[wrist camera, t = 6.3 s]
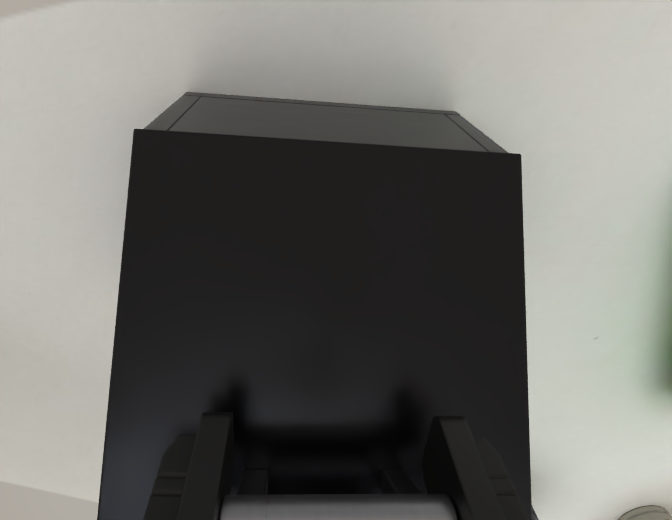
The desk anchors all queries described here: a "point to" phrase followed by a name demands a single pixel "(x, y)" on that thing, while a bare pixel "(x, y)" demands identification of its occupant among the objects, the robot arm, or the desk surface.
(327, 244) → the box lid
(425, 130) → the black hinged lid box
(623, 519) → the coffee cup
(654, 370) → the desk surface
